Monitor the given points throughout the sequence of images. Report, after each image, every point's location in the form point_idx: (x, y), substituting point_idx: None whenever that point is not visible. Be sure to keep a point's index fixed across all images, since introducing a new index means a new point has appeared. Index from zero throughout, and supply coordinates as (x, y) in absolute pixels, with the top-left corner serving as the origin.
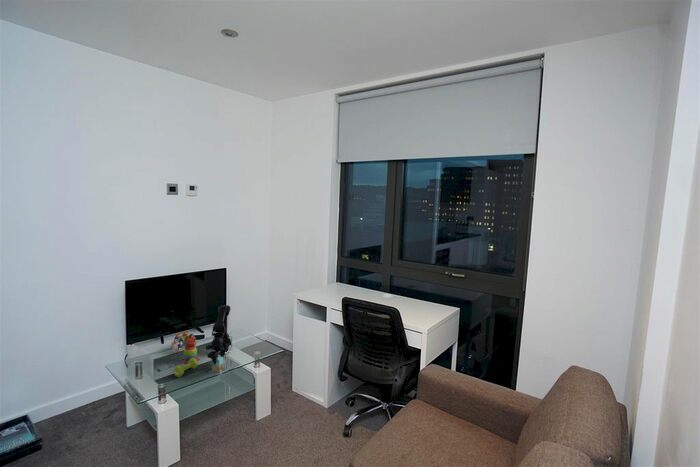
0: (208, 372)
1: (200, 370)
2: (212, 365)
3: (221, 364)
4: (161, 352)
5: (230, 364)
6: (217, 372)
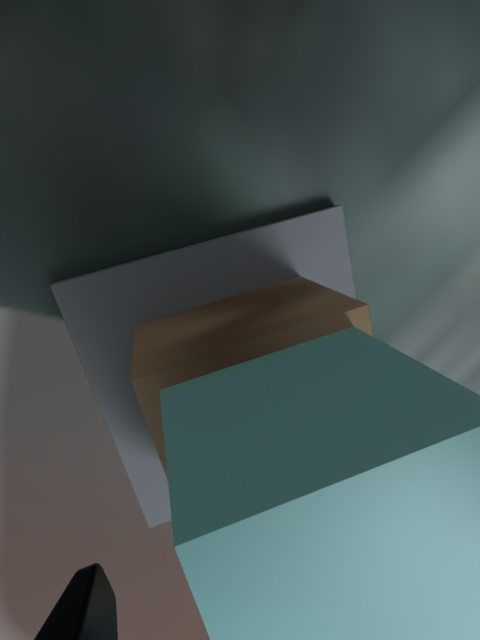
0: (59, 300)
1: (18, 33)
2: (141, 388)
3: None
4: None
5: (473, 373)
6: None
